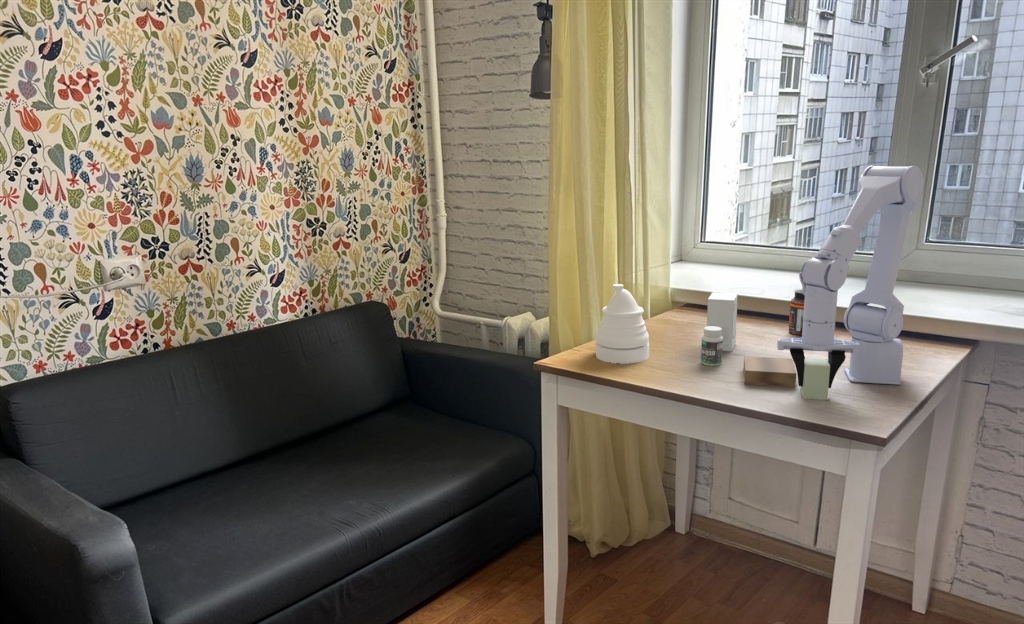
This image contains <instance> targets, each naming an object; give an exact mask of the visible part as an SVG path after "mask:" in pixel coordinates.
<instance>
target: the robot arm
mask: <svg viewBox="0 0 1024 624" xmlns="http://www.w3.org/2000/svg"><path fill="white" fill-rule="evenodd" d="M924 185H925V179H924V177H923V173H922V171H921V169H920V167H918V166H916V165H910V166H882V165H881V166H880V165H879V166H877V165H868V166H867V167H866V168H865V169H864V170H863V172H862V173H861V176H860V178H859V179H858V187H857V188H858V194H857V197H856V198H855V201H854V203H853V205H852V206H851V209H850V210H849V212H848V214H847V216H846V218H845V220H844V222H843V224H842V225H841V226H836V227H834V228H832V230H831V232H830V233H829V235H828V236H827V237H826V239H825V241H824V242H823V244H822V245H821V247H820V249H819V250H818V252H817V253H816V254H815V255H814V257H811V258H810V259H809V258H808V260H806V261H805V262H804V263H803V265H802V266H801V269H800V272H799V273H798V276H799V277H798V279H799V281H800V284H801V287H802V289H801V290H802V292H803V295H805V302H804V316H803V331H802V335H801V337H790V338H788V337H786V338H783V337H782V338H777V344H776V345H777V346H776V347H777V351H784V350H786V351H787V350H789V352H790V356H791V359H792V360H793V363H794V367H795V370H796V373H797V374H796V376H797V384H798V386H799V387H801V386H803V369H804V360H805V358H806V356H805V352H806V351H809V352H810V351H811V352H826V353H827V360H828V362H829V365H830V374H829V387H828V389H832V384H833V382H834V379H835V377H836V375H837V372H838V371H839V369H840V368H841V366H842V364H843V363H844V362H845V360H846V353H848V354H850V357H849V367H845V368H844V370H843V371H844V372H845V374H846V376H847V378H848V380H849V381H850V382H851V383H867V384H868V383H869V384H882V385H898V386H899V385H901V384H902V383H901V375H902V367H903V366H902V365H903V356H904V355H903V354H904V345H903V342H902V339H900V338H897V337H898V336H899V335H900V333H901V331H902V330H903V327H904V309H905V305H904V304H903V303H902V301H900V299H898V297H896V295H895V294H894V290H895V287H896V281H897V278H898V273H899V269H900V264H901V259H902V257H903V256H902V255H903V253H904V248H905V243H906V240H907V236H908V231H909V228H910V224H911V220H912V219H911V218H912V215H913V212H914V211H917V210H918V208H919V204H920V202H921V197H922V193H923V188H924ZM878 211H879V212H880V213H881V219H880V223H879V224H880V225H879V229H878V232H877V236H876V240H875V245H874V249H873V253H872V258H871V262H870V267H869V269H868V270H869V271H868V274H867V275H868V276H867V279H866V282H865V283H866V284H865V287H864V289H863V290H861V291H859V292H857V293H856V294H854V295H852V296H851V298H850V299H851V300H850V302H849V305H848V307H846V308H847V309H846V310H845V312H844V315H843V324H844V326H845V329H846V330H847V331H848V336H851V341H850V340H841V339H835V329H836V317H837V309H838V308H837V307H838V296H839V295H838V292H839V290H840V288H842V287H843V286H844V284H845V283H846V280H847V274H848V270H849V267H850V265H849V263H850V261H851V260H852V258H853V257H854V256H855V254H856V252H857V250H858V249H859V248H860V246H861V244H862V242H863V241H862V237H861V235H860V234H861V232H863V230H864V229H866V228H865V227H867V225H868V224H869V223H870V221H871V220H872V219H873V217H874V216H875V215H876V214H877V212H878ZM871 304H872V305H873V306H872V305H871ZM874 305H879V306H881V307H878V306H874ZM804 351H805V352H804Z"/></svg>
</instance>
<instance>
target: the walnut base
mask: <svg viewBox="0 0 1024 624" xmlns="http://www.w3.org/2000/svg"><path fill="white" fill-rule="evenodd" d="M743 377H744V379H743V380H744V385H755V386H756V385H758V386H769V387H770V386H773V387H786V388H787V387H789V388H796V385H797V370H796V366H795V363H794V361H793V358H783V357H767V356H751V355H750V356H749V355H748V356H746V355H743Z"/></svg>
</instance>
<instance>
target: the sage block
mask: <svg viewBox="0 0 1024 624" xmlns="http://www.w3.org/2000/svg"><path fill="white" fill-rule="evenodd" d="M829 374H830V365H829V362H828V358H827V359H826V358H813V357H805V360H804V369H803V386H800V388H799V389H800V390H799V391H800V394H801V398H802V399H807V400H808V399H809V400H822V401H823V400H825V401H827V400H828V398H829V397H828V396H829V388H828V387H829Z"/></svg>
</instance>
